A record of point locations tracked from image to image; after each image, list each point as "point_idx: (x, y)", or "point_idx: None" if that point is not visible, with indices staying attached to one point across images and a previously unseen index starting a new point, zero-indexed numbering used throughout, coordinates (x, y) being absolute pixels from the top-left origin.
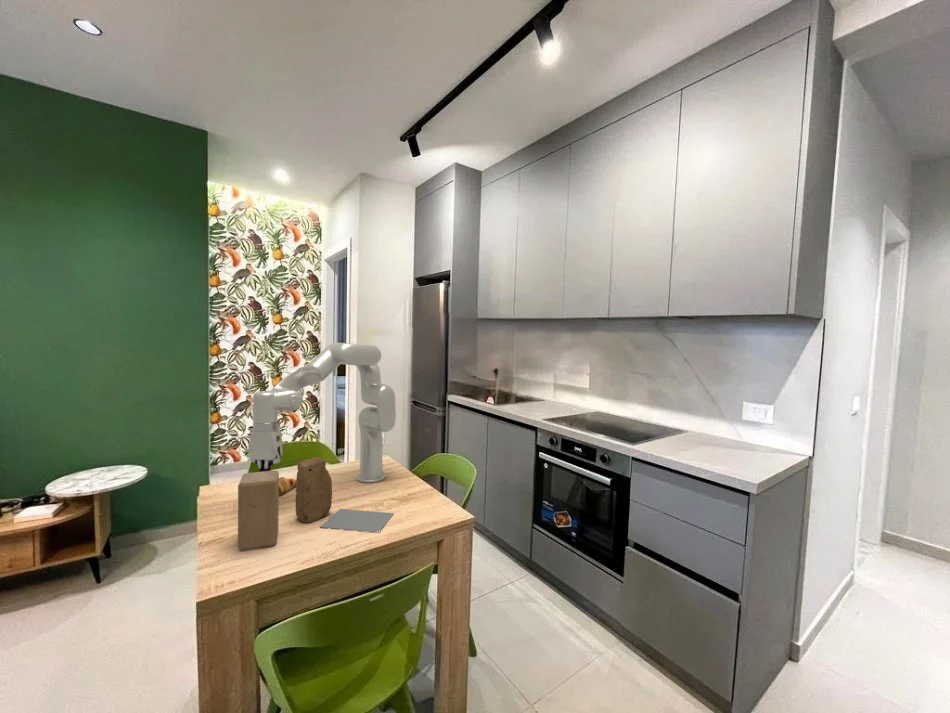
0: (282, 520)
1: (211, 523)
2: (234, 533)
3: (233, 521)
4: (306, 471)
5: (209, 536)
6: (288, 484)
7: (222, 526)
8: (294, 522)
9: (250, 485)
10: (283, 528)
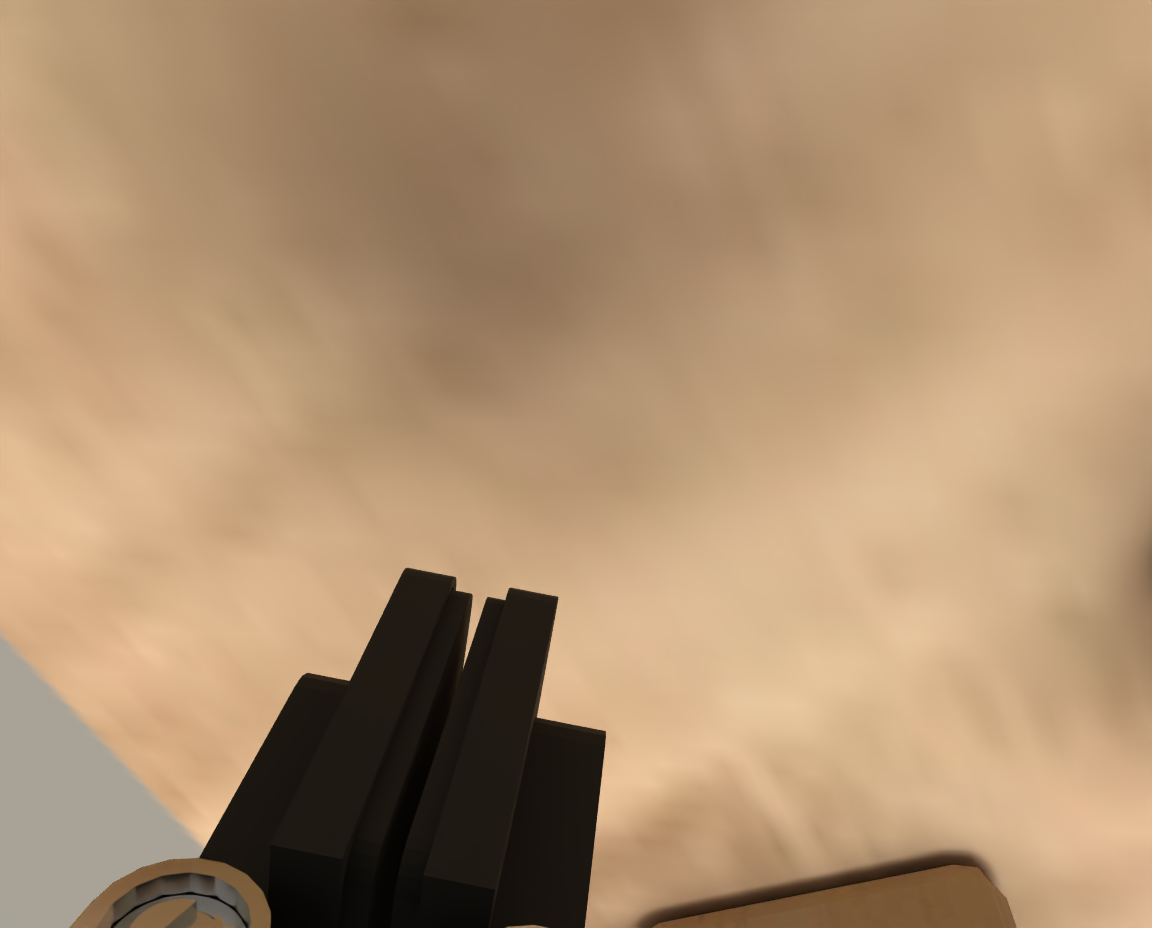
0: (949, 591)
1: (68, 631)
2: None
3: (294, 593)
4: None
5: None
6: None
7: (255, 706)
8: (1142, 653)
9: None
10: (1030, 790)
